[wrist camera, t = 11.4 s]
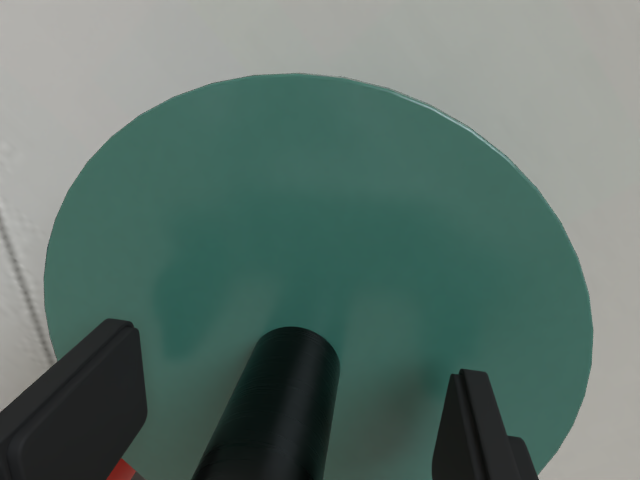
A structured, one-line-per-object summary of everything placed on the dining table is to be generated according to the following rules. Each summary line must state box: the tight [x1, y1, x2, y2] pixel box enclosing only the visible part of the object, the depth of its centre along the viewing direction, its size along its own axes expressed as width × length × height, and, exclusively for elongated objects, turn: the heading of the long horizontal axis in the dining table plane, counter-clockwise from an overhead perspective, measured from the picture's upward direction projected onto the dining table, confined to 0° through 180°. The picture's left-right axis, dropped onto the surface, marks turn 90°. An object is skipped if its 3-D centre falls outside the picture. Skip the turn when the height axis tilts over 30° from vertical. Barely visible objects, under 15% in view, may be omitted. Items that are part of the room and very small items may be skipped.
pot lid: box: [44, 73, 593, 480], centre depth 10 cm, size 15×15×6 cm
